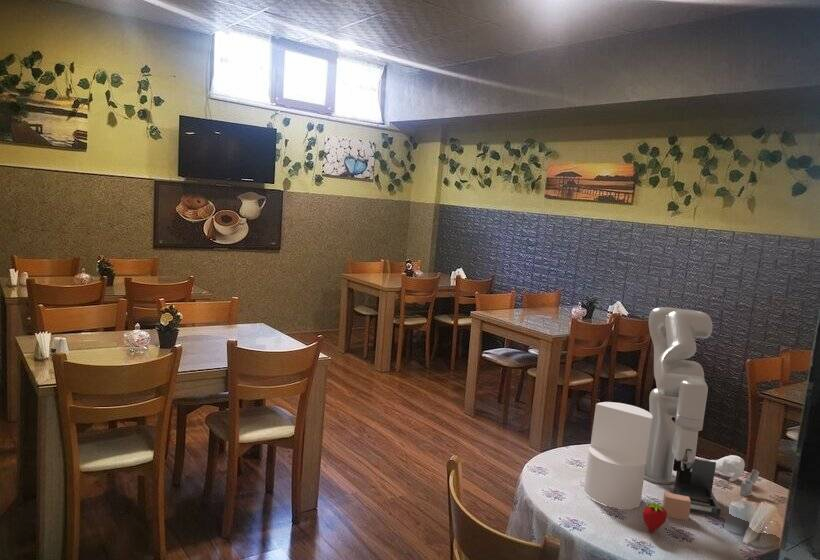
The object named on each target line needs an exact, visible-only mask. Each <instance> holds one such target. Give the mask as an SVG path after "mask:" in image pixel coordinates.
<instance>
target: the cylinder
mask: <svg viewBox="0 0 820 560" xmlns="http://www.w3.org/2000/svg"><path fill="white" fill-rule="evenodd" d="M652 419H653V416H652V414H650V413H649V411H648V410H646V409H645V408H641V407H639V406H636V405H632V404H627V403H622V402H612V401H603V402H598V403H595V407H594V416H593V424H592V431H591V437H590V439H591V440H590V445H589V448H588V452H587V461H586V468H585V475H584V484H583V491H584V490H585V492H586V493H587V494H588V495H589V496H590V497H591V498H593V499H595V500H596V501H598V502H600V503H603V504H605V505H607V506H611V507H615V508H621V509H620V510H624V509H627V510H633V508H634V509H636V508H638V507H639V505H641V502H642V501H641V500H642V494H643V489H644V488H643V487H644V481H645V479H644V475H645V468H646V461H647V454H648V447H649V440H650V433H651V426H652ZM615 508H614V509H615Z"/></svg>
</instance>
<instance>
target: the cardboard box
mask: <svg viewBox="0 0 820 560" xmlns="http://www.w3.org/2000/svg"><path fill="white" fill-rule="evenodd" d="M662 498H663V499H662V503H661V504H662V505H661V506H664V507H663V508H664V509H665V510H666V512H667V518H673V519H678V520H682V521H687V522H688V521H689V517H690V512H691V511H690V505H691V501H690V498H689V497H688V496H682V495H677V494H675V493H671V492H665V491H663V497H662Z"/></svg>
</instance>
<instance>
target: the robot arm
mask: <svg viewBox="0 0 820 560" xmlns="http://www.w3.org/2000/svg"><path fill="white" fill-rule="evenodd" d="M648 315H649V316H648V329H649V335H650V337H651V340H652V344H653V376H654V380H655V385H656V388H653V389H652V390H651V391H650V393H649V398H648V399H649V401H648V402H649V406H648V407H649V408H648V409H649V411H648V412H649V413H650V414H652V416H653V419H652V426H651V433H650V440H649V447H648V454H647V461H646V468H645V475H644V480H646V481H649V482H651V483H655V484H661V485H672V484H675V480H676V475H675V474H674V473H673V471H674V472H677V471H678V472H679V478H678V482H679V483H681V484H686V485H690V482H691V475H692V463H694V461H695V459H696V454H697V445H698V439H699V432H701V431H703V427H704V418H705V412H706V405H707V399H708V398H707V397H708V392H709V391H708V389H709V387H708V384H707V382H706V380H705V373H704V368H703V367H702V364H700V363H699V362H697V361H693V360H688V359H690V358H692V357H693V356H694V355H695V354H696V352H697V343H696V339H709V338H710V336H712V333H713V321H712V318H711V317H710V316H709V315H710V314H707V313H705V312H703V311H700V310H695V309H686V308H684V309H683V308H677V307H669V306H665V307H664V306H661V307H655V308H653V309H651V310H650V313H649V314H648ZM672 418H675V419H674V420H673V419H672ZM686 459H687V460H686ZM685 463H686V464H685Z"/></svg>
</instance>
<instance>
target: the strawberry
mask: <svg viewBox="0 0 820 560" xmlns="http://www.w3.org/2000/svg"><path fill="white" fill-rule="evenodd" d="M659 500H660V499H659ZM659 500H657V501H655V502H654V501H653V502H650V501H647V503H648V504H645V507H644V508H643V510H642V514H641V515H642V520H643V522H644V524H645V526H646V527H647V529H648V532H649V533H654V532H656V531H657V530H658V529H659V528H660V527H662V526H663V525H664V524H665V522H666V520H667V518H668V517H667V512H666V510H665V509H664V508H663V507H664V506H662V505H660V504H661V503H657V502H659Z"/></svg>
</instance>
